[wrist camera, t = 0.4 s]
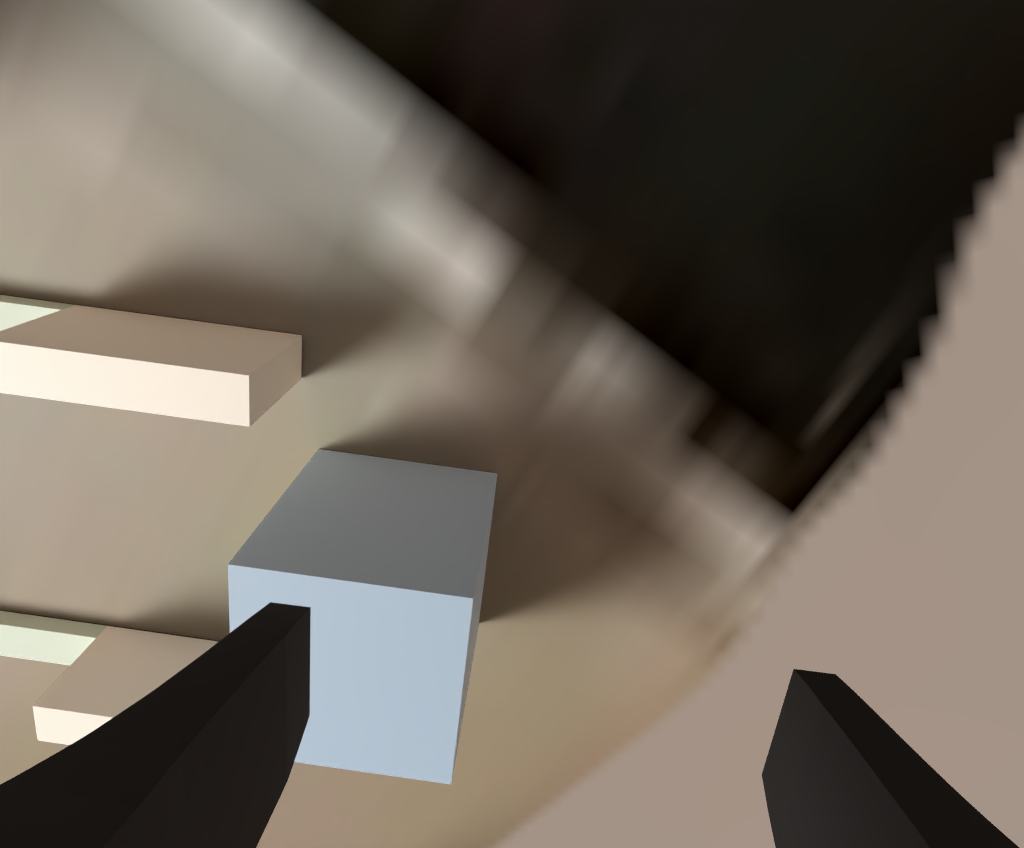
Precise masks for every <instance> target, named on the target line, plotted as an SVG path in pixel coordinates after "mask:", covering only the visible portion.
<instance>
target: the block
mask: <svg viewBox="0 0 1024 848" xmlns="http://www.w3.org/2000/svg"><path fill="white" fill-rule="evenodd" d="M497 475H498V473H490V472H483V471H476V470H468V469H461V468H454V467H446V466H439V465H432V464H424V463H417V462H410V461H402V460H395V459H388V458H380V457H373V456H366V455H359V454H351V453H344V452H337V451H329V450H322V449H318V450H317V452H316V453H315V454H314V456H313V457H312V458H311V459H310V461H309V462H308V463H307V465H306V466H305V467H304V468H303V470H302V471H301V472H300V473H299V475H298V476H297V477H296V479H295V480H294V481H293V482H292V484H291V485H290V486H289V487H288V489H287V490H286V491H285V493H284V494H283V495H282V496H281V498H280V499H279V500H278V501H277V503H276V504H275V505H274V507H273V508H272V509H271V510H270V512H269V513H268V514H267V515H266V517H265V518H264V519H263V521H262V522H261V523H260V524H259V526H258V527H257V528H256V529H255V531H254V532H253V533H252V535H251V536H250V537H249V538H248V540H247V541H246V542H245V543H244V545H243V546H242V547H241V549H240V550H239V551H238V552H237V554H236V555H235V556H234V558H233V559H232V560H231V561H230V563H229V564H228V581H229V622H230V633H231V632H232V631H233V630H234V629H236V628H237V627H238V626H240V625H241V624H242V623H243V622H245V621H246V620H247V619H249V618H250V617H251V616H253V615H254V614H255V613H257V612H258V611H259V610H261V609H262V608H263V607H265V606H266V605H267V604H269V603H270V602H273V603H281V604H289V605H296V606H304V607H311V616H310V716H309V719H308V722H307V725H306V728H305V731H304V734H303V737H302V740H301V743H300V746H299V749H298V752H297V755H296V758H295V761H294V762H299V763H305V764H312V765H319V766H326V767H333V768H340V769H347V770H354V771H361V772H368V773H375V774H382V775H389V776H396V777H403V778H410V779H417V780H424V781H431V782H438V783H445V784H451V782H452V777H453V771H454V765H455V759H456V753H457V748H458V742H459V736H460V730H461V725H462V719H463V713H464V707H465V701H466V696H467V690H468V684H469V678H470V672H471V667H472V661H473V655H474V649H475V643H476V638H477V632H478V626H479V619H480V611H481V603H482V595H483V587H484V579H485V571H486V563H487V555H488V547H489V539H490V531H491V523H492V515H493V507H494V499H495V491H496V483H497Z"/></svg>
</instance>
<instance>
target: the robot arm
mask: <svg viewBox="0 0 1024 848" xmlns="http://www.w3.org/2000/svg"><path fill="white" fill-rule="evenodd" d="M310 616H311V607H304V606H296V605H289V604H281V603H273V602H270V603H269V604H267V605H266V606H265V607H263V608H262V609H261V610H259V611H258V612H257V613H255V614H254V615H253V616H251V617H250V618H249V619H247V620H246V621H245V622H243V623H242V624H241V625H240V626H238V627H237V628H236V629H234V630H233V631H232V632H231V633H229V634H228V635H227V636H225V637H224V638H223V639H222V640H220V641H219V642H218V643H216V644H215V645H214V646H212V647H211V648H210V649H209V650H207V651H206V652H205V653H203V654H202V655H201V656H199V657H198V658H197V659H195V660H194V661H193V662H191V663H190V664H189V665H187V666H186V667H185V668H183V669H182V670H180V671H179V672H178V673H176V674H175V675H174V676H172V677H171V678H170V679H168V680H167V681H166V682H164V683H163V684H161V685H160V686H159V687H157V688H156V689H155V690H153V691H152V692H150V693H149V694H147V695H146V696H144V697H143V698H142V699H140V700H139V701H137V702H136V703H134V704H133V705H131V706H130V707H128V708H127V709H125V710H124V711H122V712H121V713H119V714H118V715H116V716H115V717H113V718H112V719H110V720H109V721H107V722H106V723H105V724H103V725H102V726H100V727H99V728H97V729H95V730H94V731H92V732H91V733H89V734H87V735H86V736H84V737H83V738H81V739H79V740H78V741H76V742H74V743H73V744H71V745H69V746H68V747H66V748H64V749H63V750H61V751H60V752H58V753H56V754H54V755H53V756H51V757H49V758H47V759H46V760H44V761H42V762H40V763H38V764H37V765H35V766H33V767H31V768H30V769H28V770H26V771H24V772H23V773H21V774H19V775H17V776H16V777H14V778H12V779H10V780H8V781H6V782H5V783H3V784H1V785H0V848H256V846H257V844H258V842H259V840H260V838H261V836H262V834H263V832H264V830H265V828H266V825H267V823H268V821H269V819H270V817H271V815H272V813H273V811H274V808H275V806H276V804H277V802H278V800H279V798H280V796H281V794H282V791H283V789H284V787H285V785H286V783H287V780H288V778H289V775H290V772H291V769H292V766H293V763H294V761H295V758H296V755H297V752H298V749H299V746H300V743H301V740H302V737H303V734H304V731H305V728H306V725H307V722H308V719H309V716H310ZM762 778H763V783H764V789H765V795H766V801H767V806H768V812H769V817H770V822H771V827H772V832H773V837H774V842H775V846H776V848H1019V847H1018V846H1017V845H1016V844H1014V843H1013V842H1012V841H1011V840H1010V839H1009V838H1007V837H1006V836H1005V835H1004V834H1003V833H1002V832H1001V831H1000V830H999V829H997V828H996V827H995V826H994V825H993V824H991V822H989V821H988V820H987V819H986V818H985V817H984V816H983V815H982V814H980V812H978V811H977V810H976V809H975V808H974V807H973V806H972V805H971V804H970V803H969V802H967V801H966V800H965V799H964V798H963V797H962V796H961V795H960V794H959V793H958V792H957V791H956V790H955V789H954V788H953V787H951V786H950V785H949V784H948V783H947V782H946V781H945V780H944V779H943V778H942V777H941V776H940V775H939V774H938V773H937V772H936V771H935V770H934V769H933V768H932V767H930V765H928V764H927V763H926V762H925V761H924V760H923V759H922V758H921V757H920V756H919V755H918V754H917V753H916V752H915V751H914V750H913V749H912V748H911V747H910V746H909V745H908V744H907V743H906V742H905V741H904V740H903V739H902V738H901V737H900V736H899V735H898V734H897V733H896V732H895V731H894V730H893V729H892V728H891V727H890V726H889V725H888V724H887V723H886V722H885V721H884V720H883V719H881V718H880V716H879V715H878V714H876V712H875V711H873V709H871V708H870V707H869V706H868V705H867V704H866V703H865V702H864V701H863V700H862V699H861V698H860V697H859V696H858V695H857V694H856V693H855V692H854V691H853V690H852V689H851V688H850V687H849V686H848V685H846V683H844V682H843V681H842V680H841V679H840V678H839V677H838V676H837V675H835V674H828V673H820V672H813V671H805V670H797V669H794V670H793V674H792V676H791V680H790V683H789V686H788V690H787V693H786V696H785V700H784V703H783V706H782V710H781V713H780V716H779V720H778V723H777V726H776V730H775V733H774V736H773V740H772V743H771V746H770V749H769V753H768V756H767V759H766V763H765V766H764V770H763V773H762Z"/></svg>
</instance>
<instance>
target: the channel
mask: <svg viewBox="0 0 1024 848" xmlns="http://www.w3.org/2000/svg"><path fill="white" fill-rule="evenodd" d="M301 367H302V335H296V334H289V333H281V332H274V331H266V330H259V329H251V328H244V327H237V326H229V325H222V324H214V323H207V322H199V321H192V320H184V319H177V318H169V317H162V316H155V315H147V314H140V313H132V312H125V311H117V310H110V309H102V308H95V307H88V306H80V305H73V304H65V303H58V302H50V301H43V300H35V299H28V298H20V297H13V296H6V295H0V393H6V394H14V395H21V396H28V397H36V398H43V399H50V400H58V401H65V402H72V403H80V404H87V405H94V406H102V407H109V408H116V409H124V410H131V411H138V412H146V413H153V414H160V415H168V416H175V417H182V418H190V419H197V420H204V421H212V422H219V423H226V424H234V425H241V426H248V427H250V426H251V425H252V424H253V423H254V422H255V421H256V420H257V419H258V418H259V417H261V416H262V415H263V414H264V413H265V412H266V411H267V410H268V409H269V408H270V407H271V406H272V405H274V404H275V403H276V402H277V401H278V400H279V399H280V398H281V397H282V396H283V395H284V394H285V393H287V392H288V391H289V390H290V389H291V388H292V387H293V386H294V385H295V384H296V383H297V382H298V381H300V380H301ZM216 643H218V641H211V640H204V639H197V638H190V637H183V636H175V635H168V634H161V633H154V632H147V631H140V630H133V629H126V628H119V627H112V626H105V625H98V624H91V623H84V622H76V621H69V620H62V619H55V618H48V617H41V616H34V615H27V614H20V613H13V612H6V611H0V655H1V656H8V657H15V658H22V659H29V660H36V661H43V662H50V663H57V664H64V665H70V666H69V668H68V669H67V670H66V671H65V672H64V673H63V674H62V675H61V676H60V677H59V678H58V679H57V680H56V682H55V683H54V684H53V685H52V686H51V687H50V688H49V689H48V690H47V691H46V692H45V693H44V694H43V695H42V697H41V698H40V699H39V700H38V701H37V702H36V703H35V704H34V705H33V712H34V718H35V725H36V732H37V738H38V740H39V741H46V742H53V743H60V744H67V745H71V744H73V743H74V742H76V741H78V740H79V739H81V738H83V737H84V736H86V735H87V734H89V733H91V732H92V731H94V730H95V729H97V728H99V727H100V726H102V725H103V724H105V723H106V722H107V721H109V720H110V719H112V718H113V717H115V716H116V715H118V714H119V713H121V712H122V711H124V710H125V709H127V708H128V707H130V706H131V705H133V704H134V703H136V702H137V701H139V700H140V699H142V698H143V697H144V696H146V695H147V694H149V693H150V692H152V691H153V690H155V689H156V688H157V687H159V686H160V685H161V684H163V683H164V682H166V681H167V680H168V679H170V678H171V677H172V676H174V675H175V674H176V673H178V672H179V671H180V670H182V669H183V668H185V667H186V666H187V665H189V664H190V663H191V662H193V661H194V660H195V659H197V658H198V657H199V656H201V655H202V654H203V653H205V652H206V651H207V650H209V649H210V648H211V647H212V646H214V645H215V644H216Z"/></svg>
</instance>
